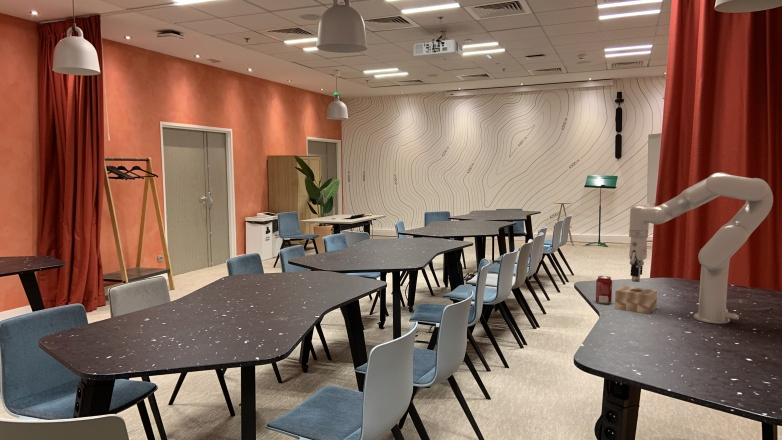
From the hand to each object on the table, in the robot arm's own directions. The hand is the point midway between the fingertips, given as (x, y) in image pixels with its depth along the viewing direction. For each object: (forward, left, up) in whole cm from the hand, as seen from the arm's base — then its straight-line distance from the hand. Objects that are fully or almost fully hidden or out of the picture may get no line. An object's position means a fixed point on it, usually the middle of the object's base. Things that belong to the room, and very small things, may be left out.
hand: (636, 274), depth 236 cm
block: (0, 0, -15) cm, 15 cm away
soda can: (+14, -1, -15) cm, 21 cm away
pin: (0, 0, -3) cm, 3 cm away
